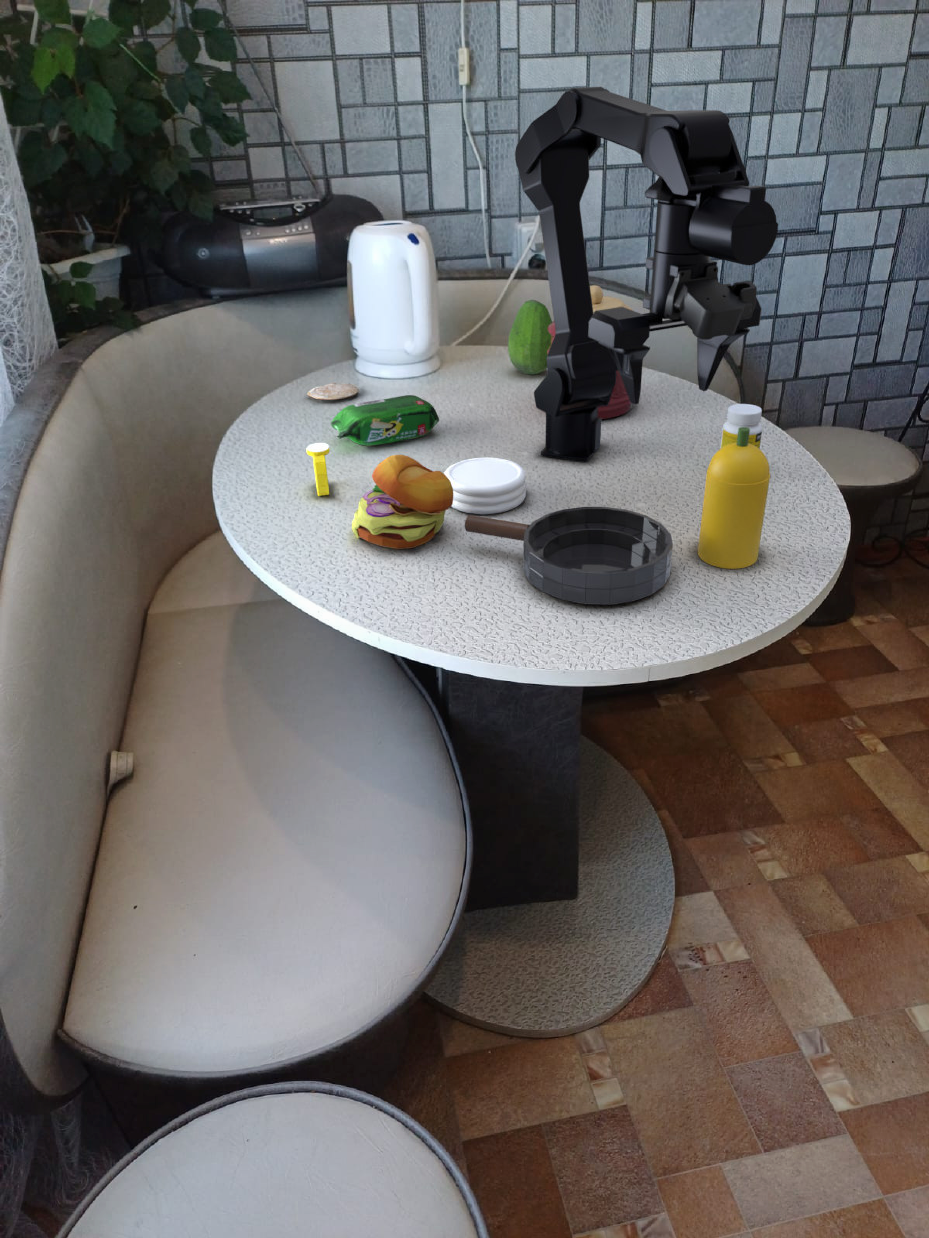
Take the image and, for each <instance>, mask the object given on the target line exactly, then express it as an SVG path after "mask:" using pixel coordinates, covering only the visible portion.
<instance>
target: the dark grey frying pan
mask: <svg viewBox="0 0 929 1238" xmlns="http://www.w3.org/2000/svg"><path fill="white" fill-rule="evenodd" d="M529 525H530V526H529V527H528V528H527V529H526V530H525V532H524V541H523V554H522V555H523V557H522V558H523V559H522V560H523V561H522V562H523V563H522V564H523V573H524V576H525V577H526V578H527V580H528V582H529V583H530V584H531V585H533V586H534V587H535V588H537V589H538V590H540V592H542V593H545V594H547V595H550V596H552V597H553V598H554V597H555V598H557V599H559V600H562V601H567V602H573V603H577V604H581V605H582V604H584V605H607V606H608V605H618V604H625V603H633V602H636V601H638V600H640V599H643V598H646V597H649V596H652V595H654V593H656V592H657V591H658V590H660V589H662V588H663V587H664V586H665V585H666V583H667V581H668V579H669V578H670V575H671V570H672V569H671V568H672V560H673V559H672V557H673V547H674V544H673V538H672V534H671V532H670V531H669V530H668V529H667V528H666V527H665V525H664V524H663V523H661V522H659V521H657V520H655V519H654V518H652V517H650V516H649V515H645V514H642V513H639V512H636V511H632V510H629V509H624V508H618V507H610V506H578V507H571V508H570V507H569V508H563V509H560V510H556V511H553V512H549V513H546V514H544V515H542V516H540V517H539V518H537V519H536V520H533V521H532V522H531V523H530V524H529Z"/></svg>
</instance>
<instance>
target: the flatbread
mask: <svg viewBox="0 0 929 1238" xmlns="http://www.w3.org/2000/svg"><path fill="white" fill-rule="evenodd" d="M359 392H360V389H359V387H357V385H354V384H352V383H341V382H339V383H336V382H330V383H327V384H323V385H320V386H315V387H312V388H311V389H310V390H309V391H308V392H307V394H306V395H307V396H308V397H311V398H312V399H315V400H325V401H333V400H341V399H346V398H350V397H353V396H355V395H356V394H358V393H359Z"/></svg>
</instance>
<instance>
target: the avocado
mask: <svg viewBox="0 0 929 1238" xmlns="http://www.w3.org/2000/svg"><path fill="white" fill-rule="evenodd" d="M517 311H518V312H517V314H516V316H515V319H514V321H513V323H512V326H511V328H510V332H509V335H508V344H507V352H508V356H509V359H510V362H511V364H512V365H513V368H515V369H516V370H517V371H519V372H520V373H522V374H523V375H529V376H530V375H531V376H532V375H538V374H541V373H542V372H545V370H547V355H548V354H547V350H548V348H549V347H550V345H551V335H550V333H549V332H548V326H549V325H550V324H551V323H552V322H553V320H552V317H551V315H550V311H549V309H548V308H547V306H546V305H545V304H544V303H542V302H540V301H538V300H535V299H531V300H526V301H524V302H523V304H522V306H520V308H519V310H517Z"/></svg>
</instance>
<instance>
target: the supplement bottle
mask: <svg viewBox="0 0 929 1238" xmlns="http://www.w3.org/2000/svg"><path fill="white" fill-rule="evenodd" d="M727 409H728V410H727V414H726V421H725V422H724V423H723V425H722V430H721V438H720V448H719V450H720V449H721V448H722V447H724V446H726V445H728V444H731V443H736V442H737V436H738V429H739V428H741V427H746V428H749V429H750V433H749V440H748V443H749V444H752V445H754V446H756V447H757V448H759V449H760V447H761V441H762V435H763V426H762V424H761V423H760V422H761V420H762V412H763V409H762V408H761V407H760V406H758V405H754V404H749V403H738V404H737V403H736V404H731V405H730V406H728V408H727ZM760 450H761V449H760Z"/></svg>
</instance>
